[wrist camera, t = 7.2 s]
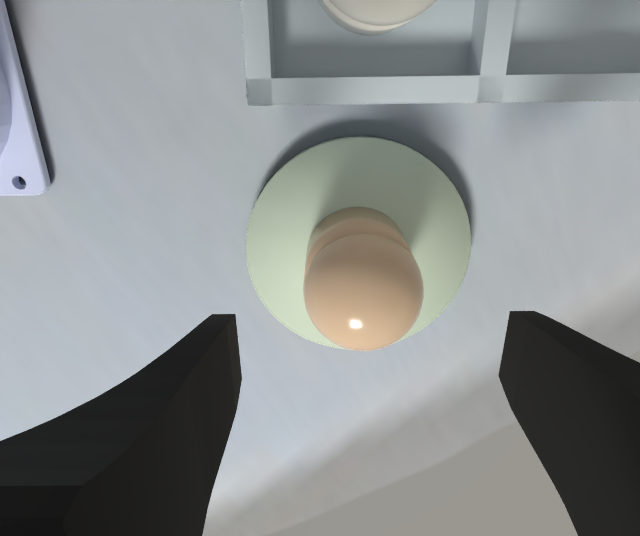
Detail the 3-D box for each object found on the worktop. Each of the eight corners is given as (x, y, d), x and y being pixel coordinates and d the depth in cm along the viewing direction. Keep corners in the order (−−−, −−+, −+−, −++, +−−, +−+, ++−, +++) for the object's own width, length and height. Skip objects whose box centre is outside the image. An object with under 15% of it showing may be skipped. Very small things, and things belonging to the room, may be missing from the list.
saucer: (256, 340, 20) (253, 350, 20) (239, 137, 17) (235, 140, 16) (452, 338, 20) (457, 348, 20) (478, 134, 17) (485, 137, 16)
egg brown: (306, 298, 19) (301, 375, 14) (306, 206, 17) (299, 257, 12) (402, 299, 19) (429, 377, 14) (410, 206, 17) (444, 258, 12)
